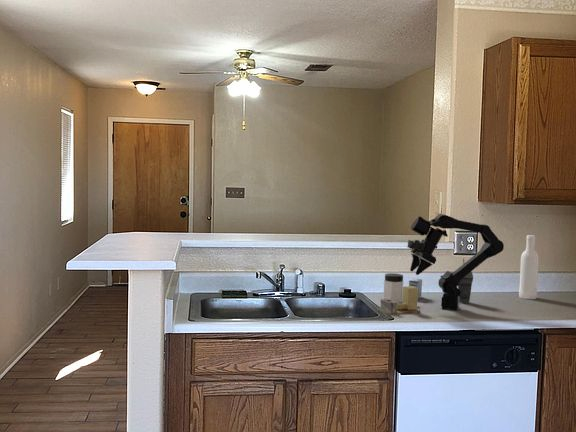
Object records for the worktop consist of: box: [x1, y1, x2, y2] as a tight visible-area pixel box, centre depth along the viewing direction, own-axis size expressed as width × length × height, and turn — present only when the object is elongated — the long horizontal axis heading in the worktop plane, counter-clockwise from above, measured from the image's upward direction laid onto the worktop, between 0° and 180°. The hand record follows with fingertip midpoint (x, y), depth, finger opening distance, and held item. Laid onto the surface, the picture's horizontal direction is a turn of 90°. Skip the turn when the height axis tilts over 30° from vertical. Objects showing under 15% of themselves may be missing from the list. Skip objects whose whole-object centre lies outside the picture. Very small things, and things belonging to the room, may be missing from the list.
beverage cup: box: [457, 258, 474, 304], centre depth 270 cm, size 7×7×20 cm
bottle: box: [518, 234, 540, 300], centre depth 284 cm, size 8×8×30 cm
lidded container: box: [383, 272, 404, 304], centre depth 270 cm, size 9×8×12 cm
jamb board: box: [379, 298, 421, 316], centre depth 250 cm, size 14×8×5 cm, turn 109°
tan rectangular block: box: [397, 285, 418, 310], centre depth 250 cm, size 9×4×9 cm, turn 109°
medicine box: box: [408, 277, 423, 301], centre depth 278 cm, size 8×4×9 cm, turn 155°
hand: (413, 272), depth 256 cm, fingers open, 9 cm apart
